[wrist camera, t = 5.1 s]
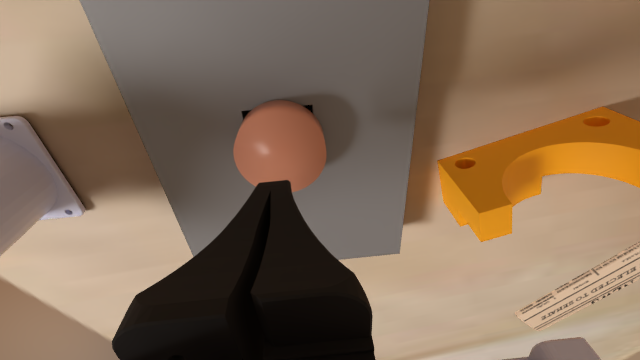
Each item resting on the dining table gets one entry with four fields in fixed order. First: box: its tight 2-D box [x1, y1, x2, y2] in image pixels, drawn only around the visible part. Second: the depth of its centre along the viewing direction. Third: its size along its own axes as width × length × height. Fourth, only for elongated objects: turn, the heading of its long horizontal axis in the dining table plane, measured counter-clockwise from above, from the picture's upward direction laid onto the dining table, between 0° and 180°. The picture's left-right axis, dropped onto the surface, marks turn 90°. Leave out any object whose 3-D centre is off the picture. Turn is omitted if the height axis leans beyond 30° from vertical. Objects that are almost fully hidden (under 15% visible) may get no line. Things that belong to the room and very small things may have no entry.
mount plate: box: [80, 0, 429, 260], centre depth 19 cm, size 16×22×3 cm
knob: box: [233, 100, 326, 192], centre depth 18 cm, size 5×5×5 cm
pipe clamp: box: [437, 107, 640, 242], centre depth 21 cm, size 12×4×6 cm, turn 110°
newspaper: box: [515, 242, 640, 331], centre depth 32 cm, size 24×7×2 cm, turn 142°
